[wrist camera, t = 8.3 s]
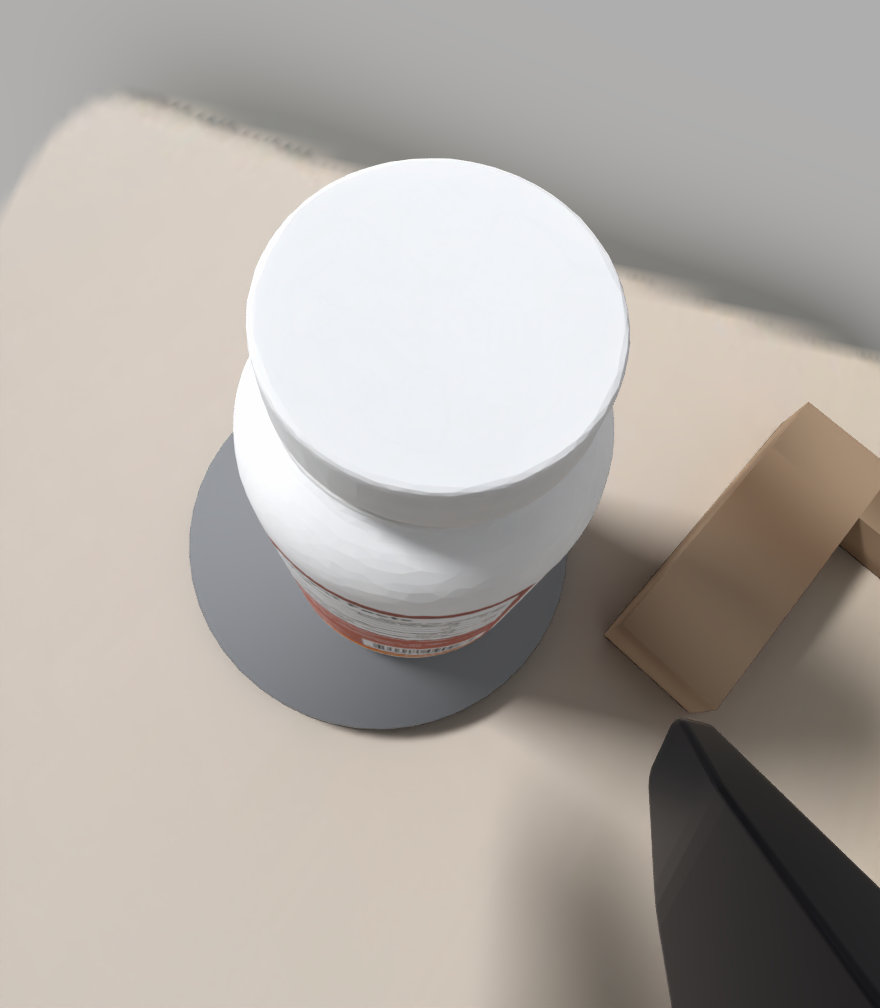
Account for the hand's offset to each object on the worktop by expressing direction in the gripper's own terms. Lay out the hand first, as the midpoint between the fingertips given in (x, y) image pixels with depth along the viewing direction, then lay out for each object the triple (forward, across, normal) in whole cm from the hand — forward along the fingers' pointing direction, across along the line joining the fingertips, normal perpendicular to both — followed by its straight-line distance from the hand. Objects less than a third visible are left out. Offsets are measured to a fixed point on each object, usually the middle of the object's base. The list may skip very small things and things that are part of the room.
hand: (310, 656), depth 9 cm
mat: (+10, 0, +4) cm, 11 cm away
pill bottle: (+10, -1, +3) cm, 11 cm away
